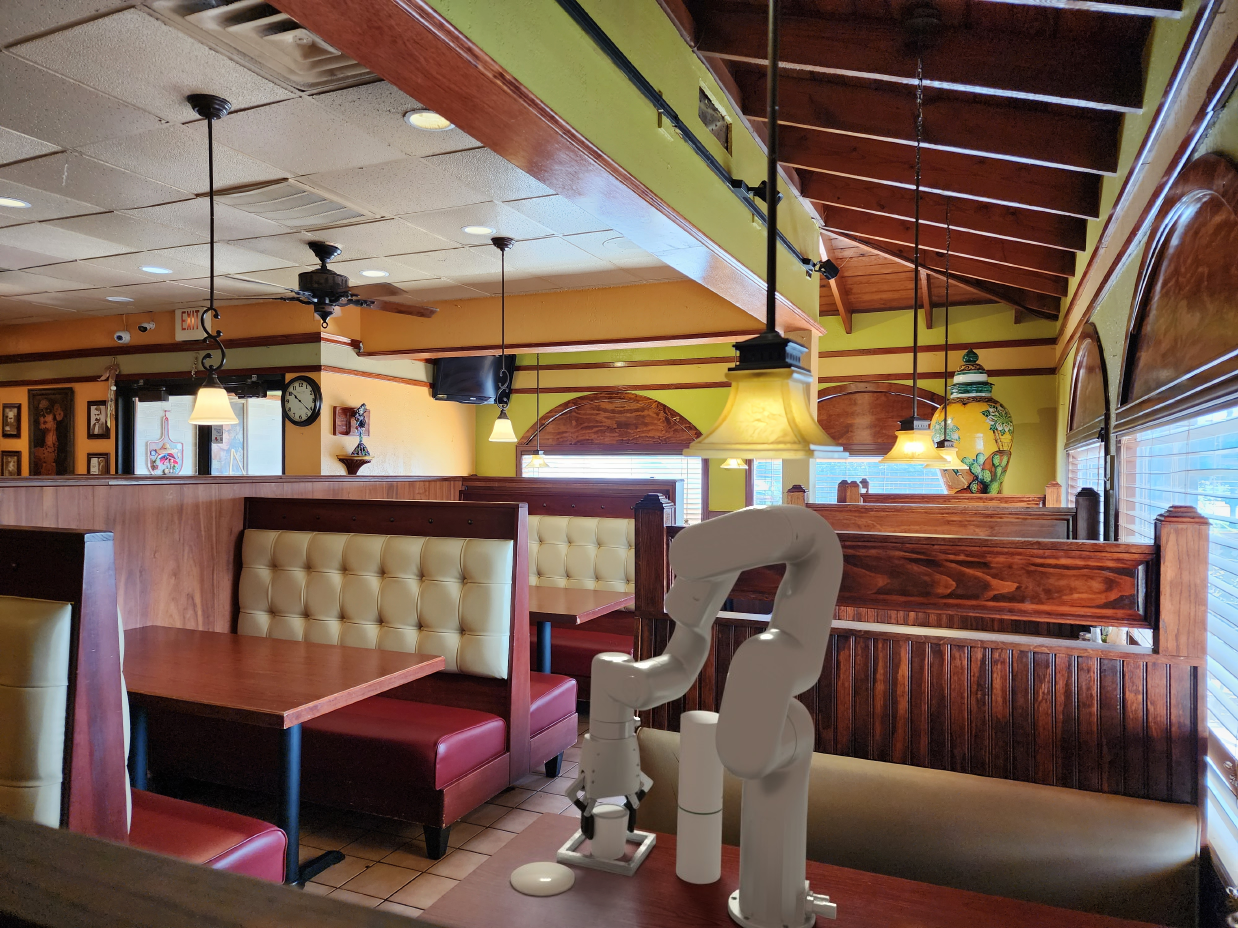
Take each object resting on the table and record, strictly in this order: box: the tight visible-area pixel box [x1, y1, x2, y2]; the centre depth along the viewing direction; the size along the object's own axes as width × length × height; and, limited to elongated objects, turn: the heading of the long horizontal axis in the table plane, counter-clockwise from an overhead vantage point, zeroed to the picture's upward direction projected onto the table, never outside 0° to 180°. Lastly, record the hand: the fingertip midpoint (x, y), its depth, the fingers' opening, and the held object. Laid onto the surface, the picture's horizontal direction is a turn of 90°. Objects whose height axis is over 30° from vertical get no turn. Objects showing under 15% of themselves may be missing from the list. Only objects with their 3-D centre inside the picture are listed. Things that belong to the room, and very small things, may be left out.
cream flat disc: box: [510, 861, 576, 897], centre depth 126 cm, size 10×10×1 cm
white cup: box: [589, 802, 629, 860], centre depth 136 cm, size 7×7×7 cm
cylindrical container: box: [675, 710, 725, 885], centre depth 130 cm, size 7×7×25 cm
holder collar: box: [556, 827, 657, 877], centre depth 136 cm, size 13×13×2 cm
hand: (608, 832), depth 136 cm, fingers closed on white cup, 6 cm apart
